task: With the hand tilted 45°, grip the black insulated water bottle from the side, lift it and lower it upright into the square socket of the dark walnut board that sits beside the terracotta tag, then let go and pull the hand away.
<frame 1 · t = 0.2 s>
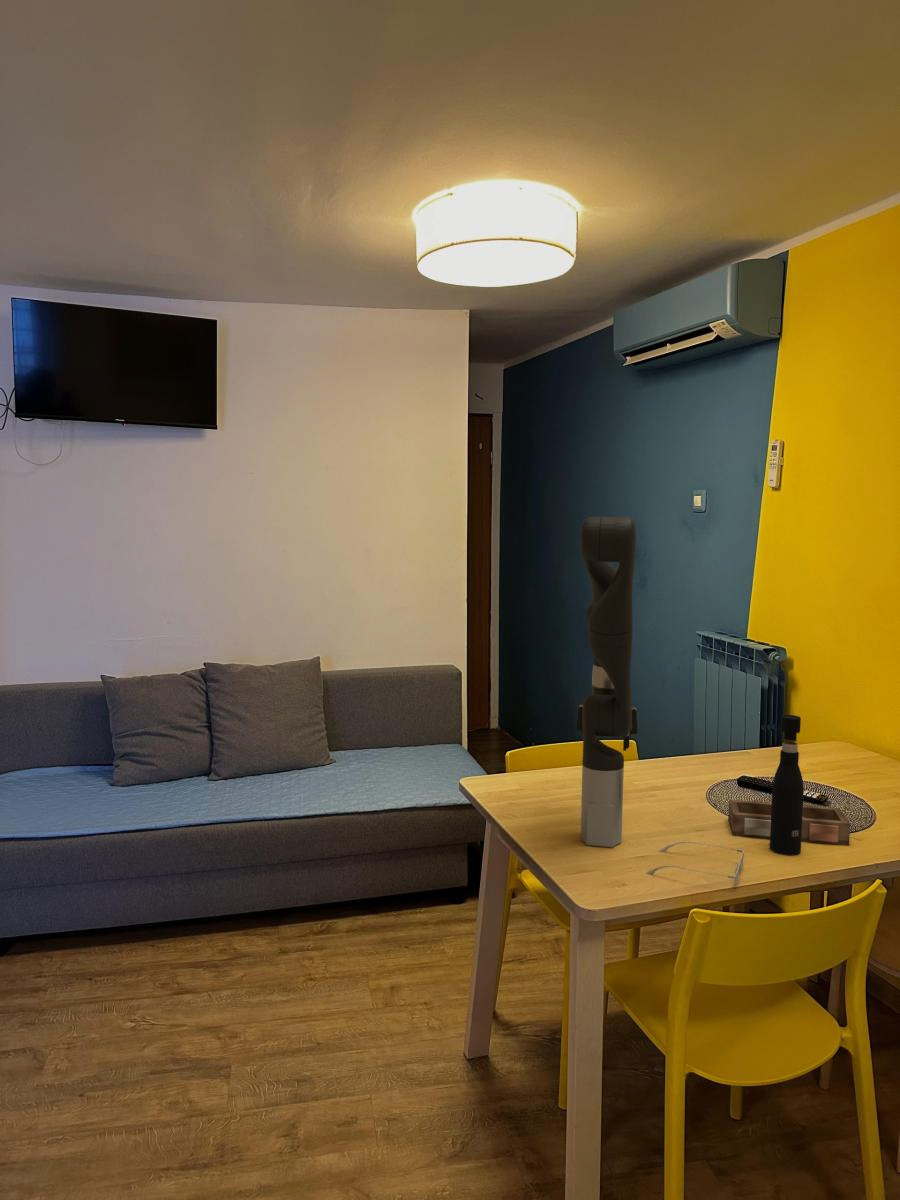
hand: (606, 748, 206), 18 cm above the table, tool pointing down, fingers open, 8 cm apart
socket board: (786, 831, 201), on the table
black insulated water bottle: (785, 850, 190), on the table
eyeglasses: (695, 872, 179), on the table
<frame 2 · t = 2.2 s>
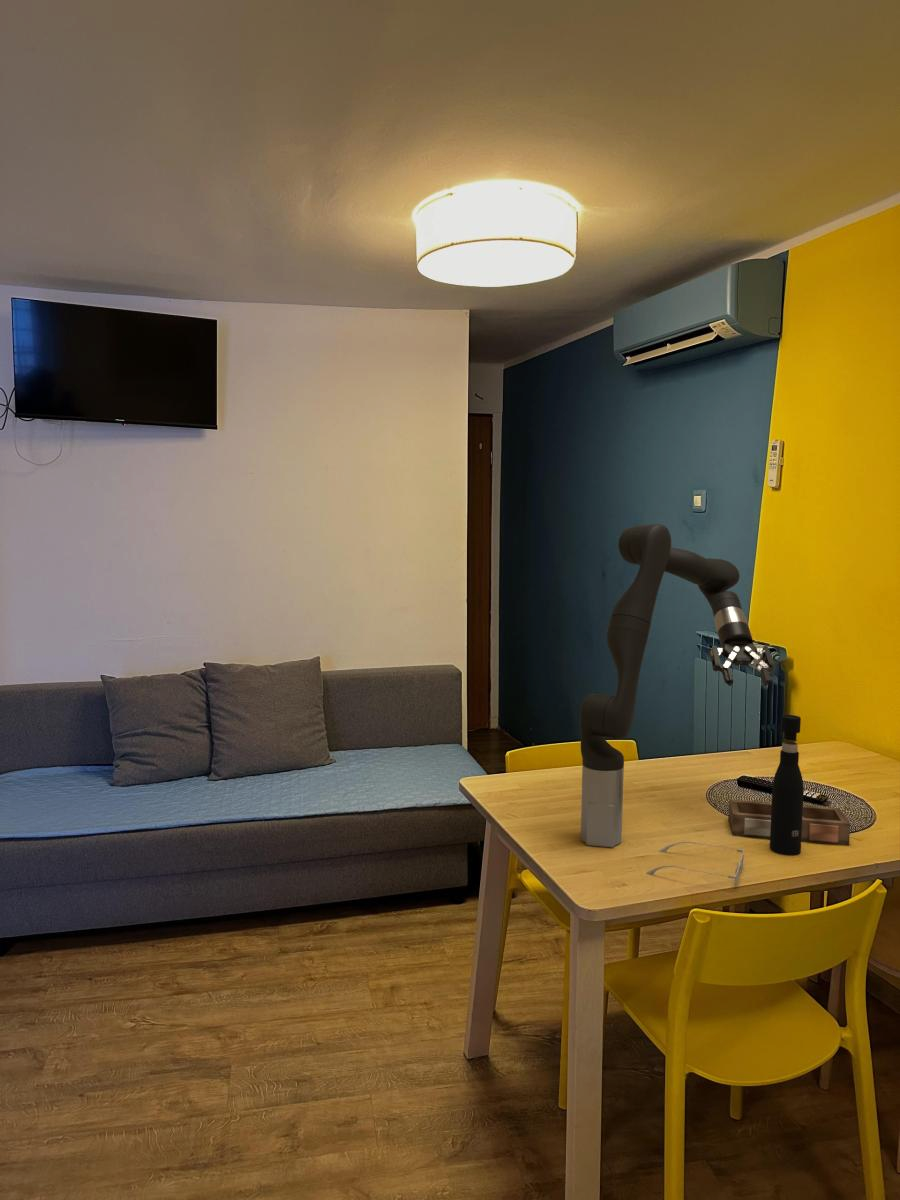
hand: (748, 684, 202), 34 cm above the table, tool tilted 45°, fingers open, 8 cm apart
nothing on the table moved.
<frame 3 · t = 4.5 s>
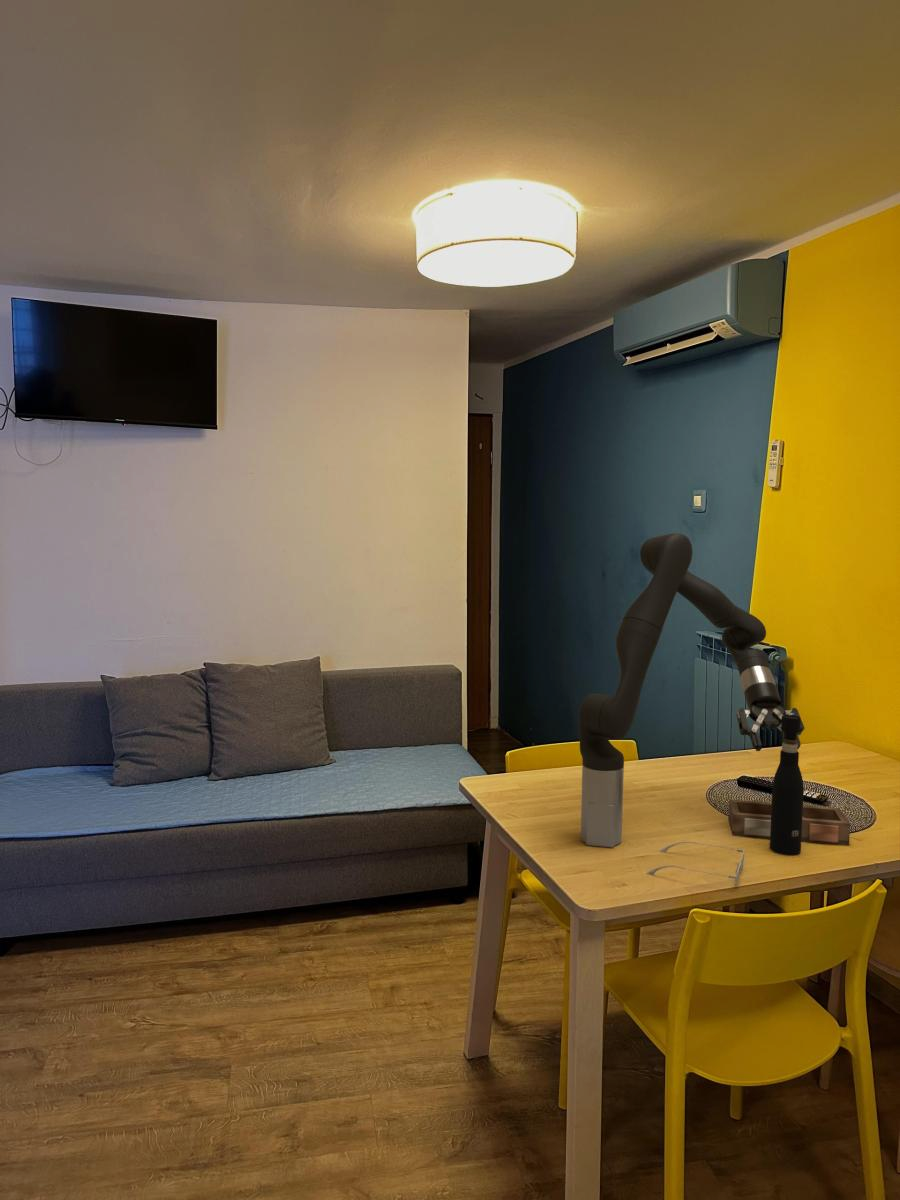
hand: (778, 749, 194), 21 cm above the table, tool tilted 45°, fingers open, 8 cm apart
nothing on the table moved.
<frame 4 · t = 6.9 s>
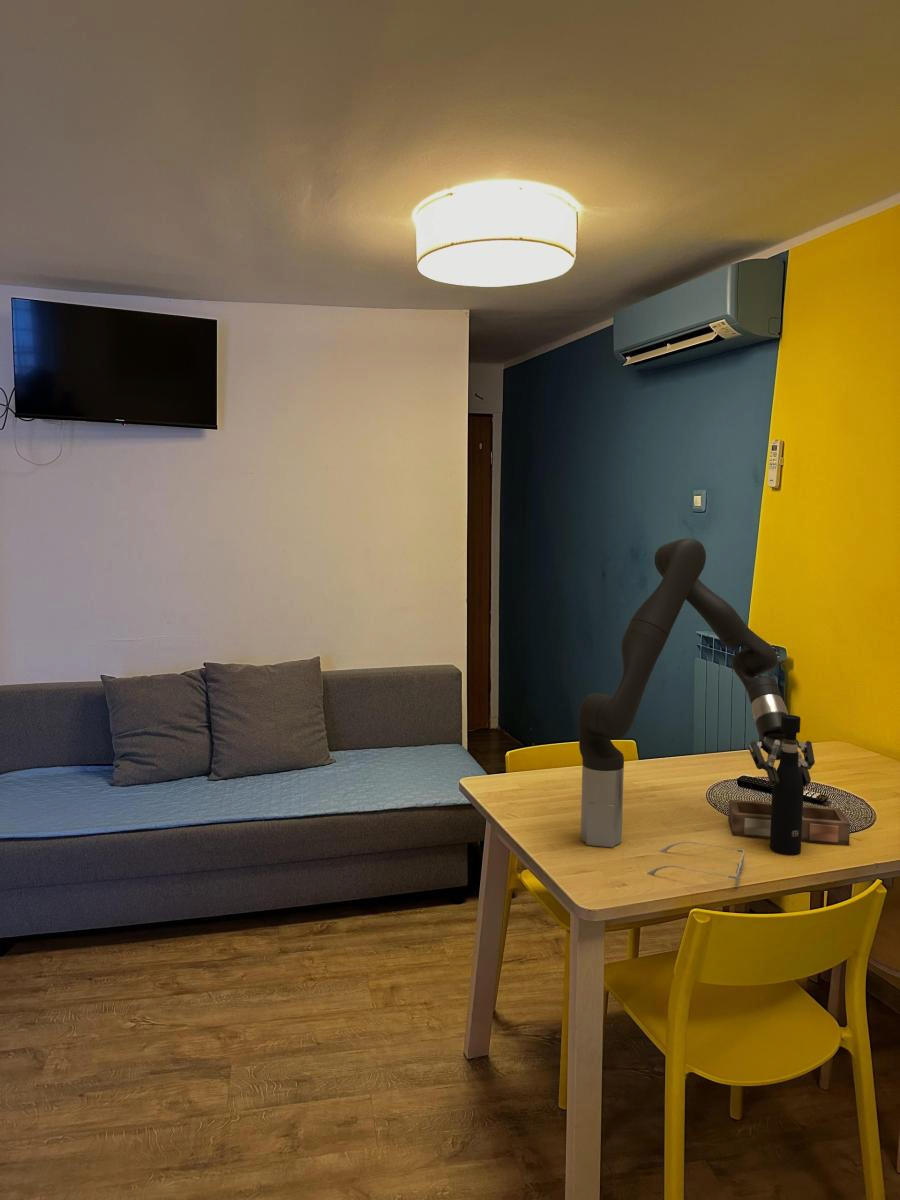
hand: (791, 784, 187), 15 cm above the table, tool tilted 45°, fingers closed on black insulated water bottle, 6 cm apart
black insulated water bottle: (785, 850, 190), on the table, touching gripper
everything else where it was.
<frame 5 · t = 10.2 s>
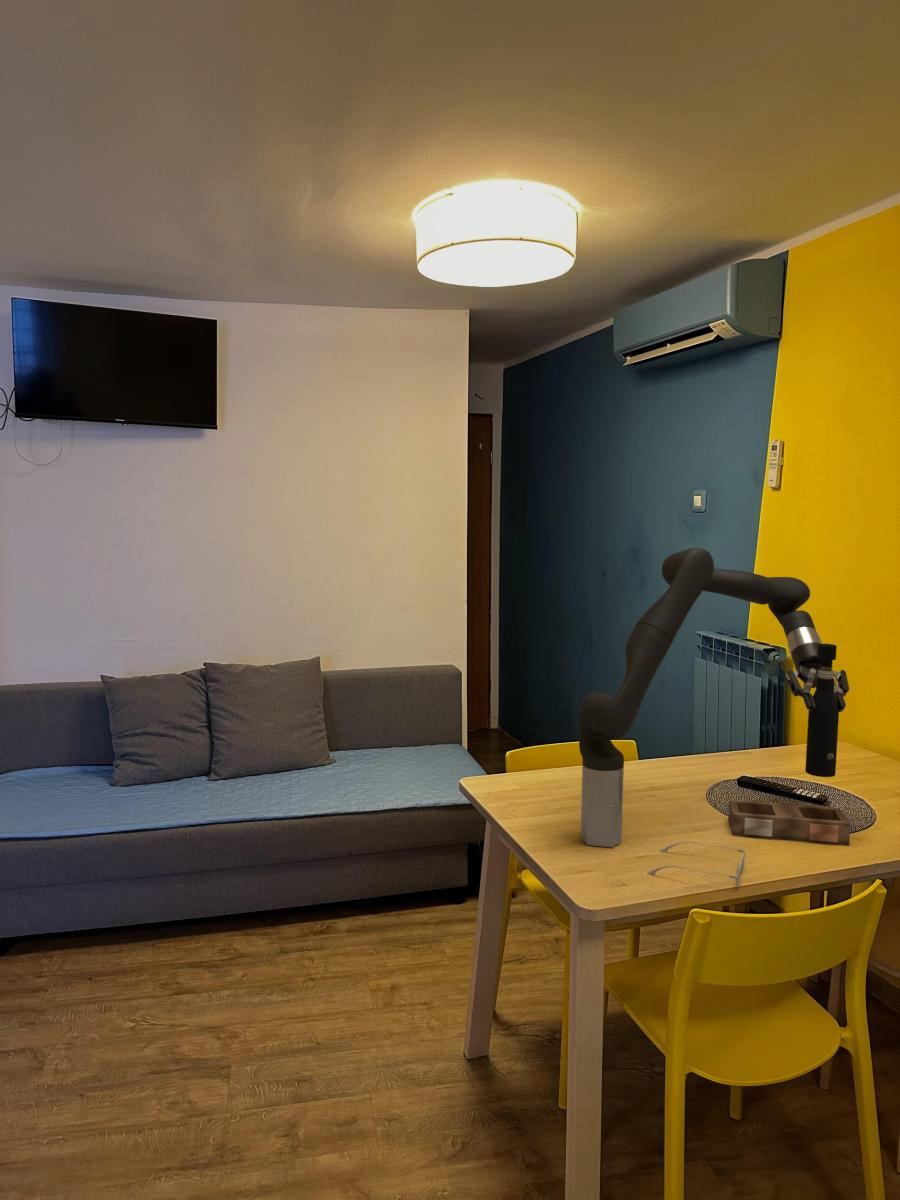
hand: (827, 709, 195), 30 cm above the table, tool tilted 45°, fingers closed on black insulated water bottle, 6 cm apart
black insulated water bottle: (820, 774, 198), point 14 cm above the table, touching gripper
everything else where it was.
when the fingers open (18 cm above the table, at t = 13.5 s): black insulated water bottle drops 1 cm, resting on socket board.
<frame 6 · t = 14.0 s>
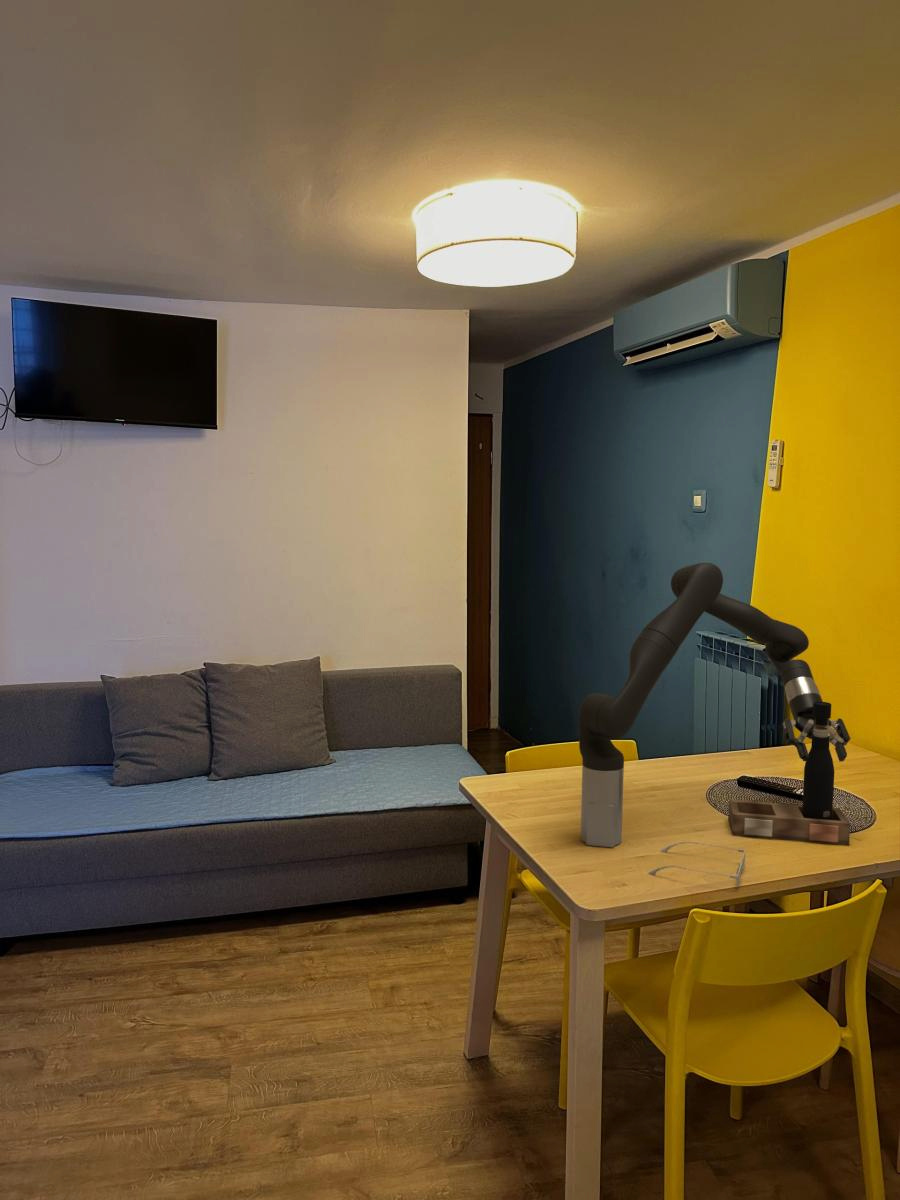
hand: (824, 759, 196), 18 cm above the table, tool tilted 45°, fingers open, 8 cm apart
black insulated water bottle: (816, 830, 199), point 1 cm above the table, touching socket board
everything else where it was.
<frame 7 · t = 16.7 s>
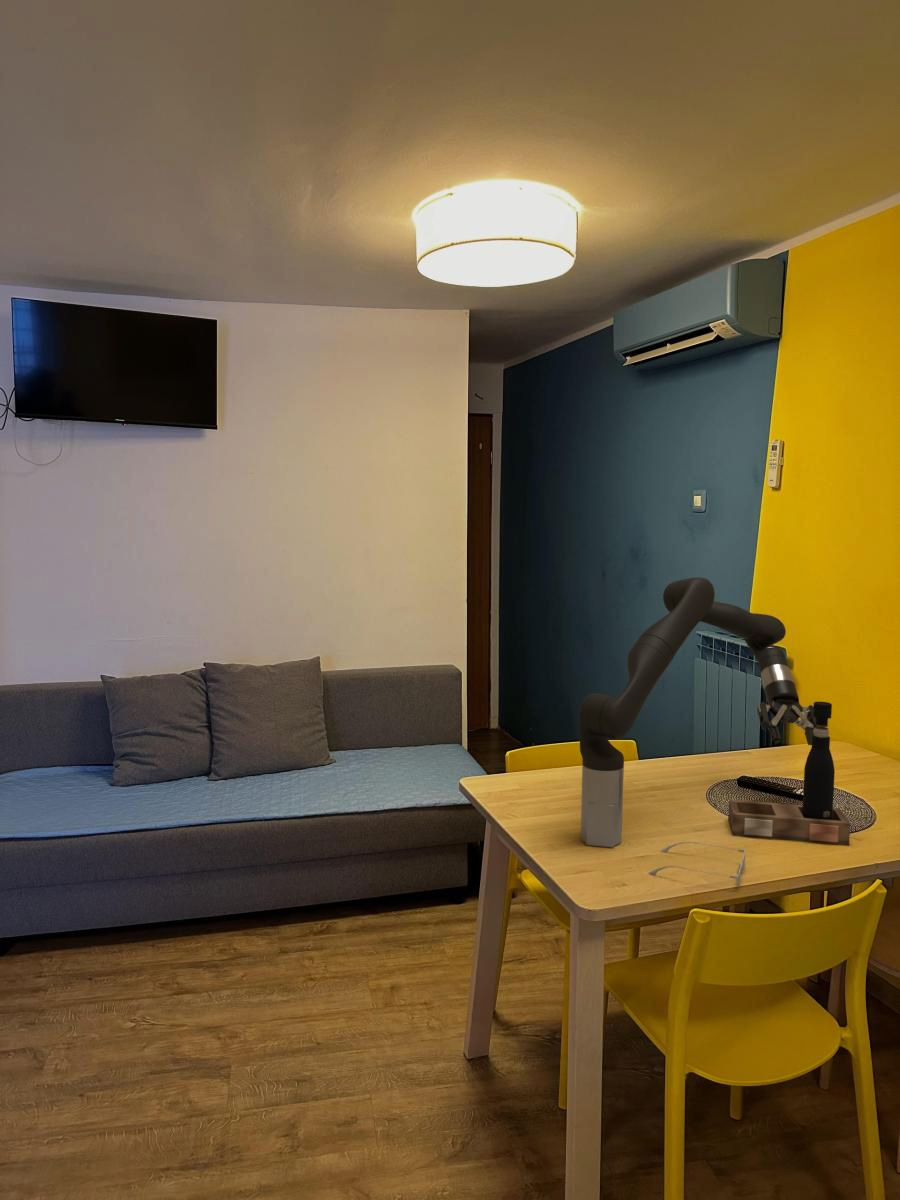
hand: (795, 742, 210), 19 cm above the table, tool tilted 45°, fingers open, 8 cm apart
nothing on the table moved.
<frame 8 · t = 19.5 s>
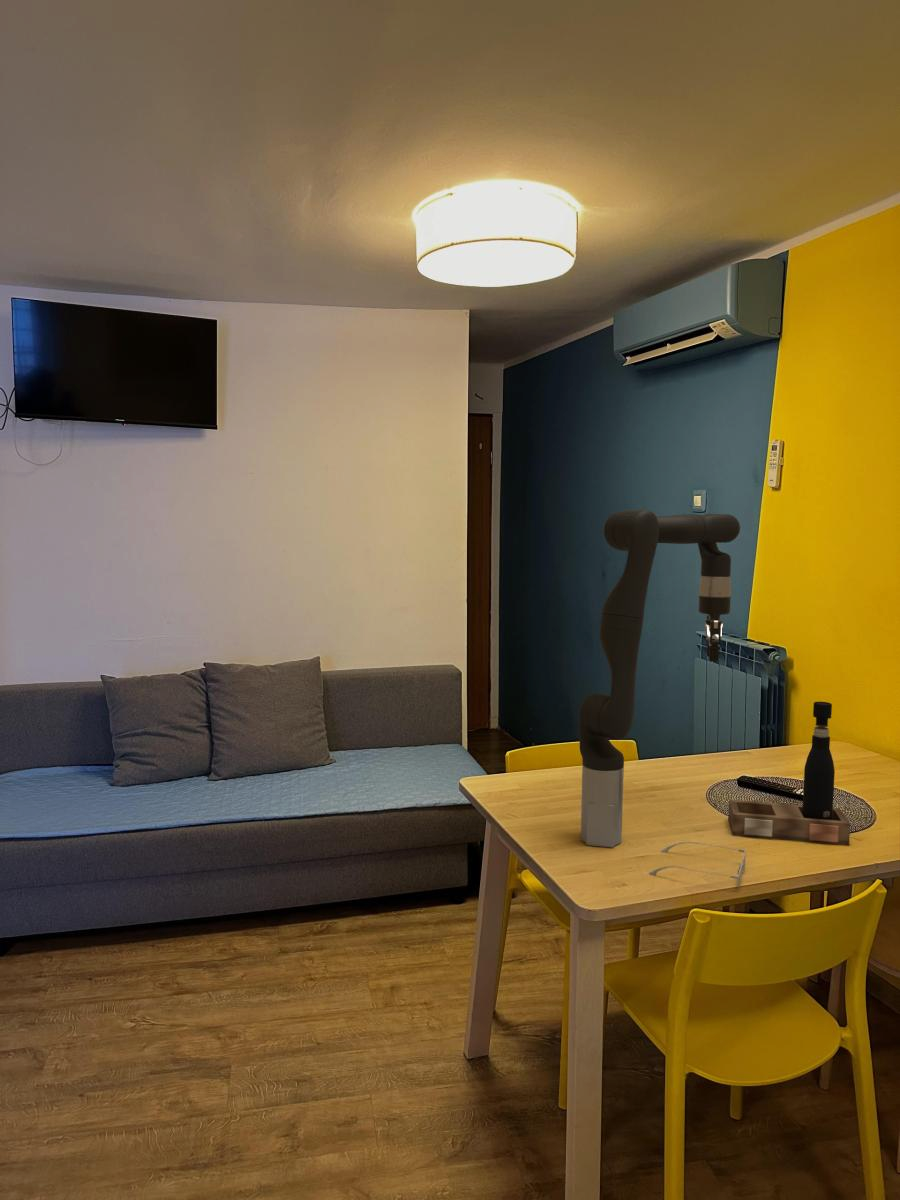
hand: (712, 658, 215), 38 cm above the table, tool pointing down, fingers open, 8 cm apart
nothing on the table moved.
at the end: black insulated water bottle 0.4 cm from the target spot on the socket board, point 0.8 cm above the socket board's base; black insulated water bottle tilted 0°; the gripper is holding nothing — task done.
